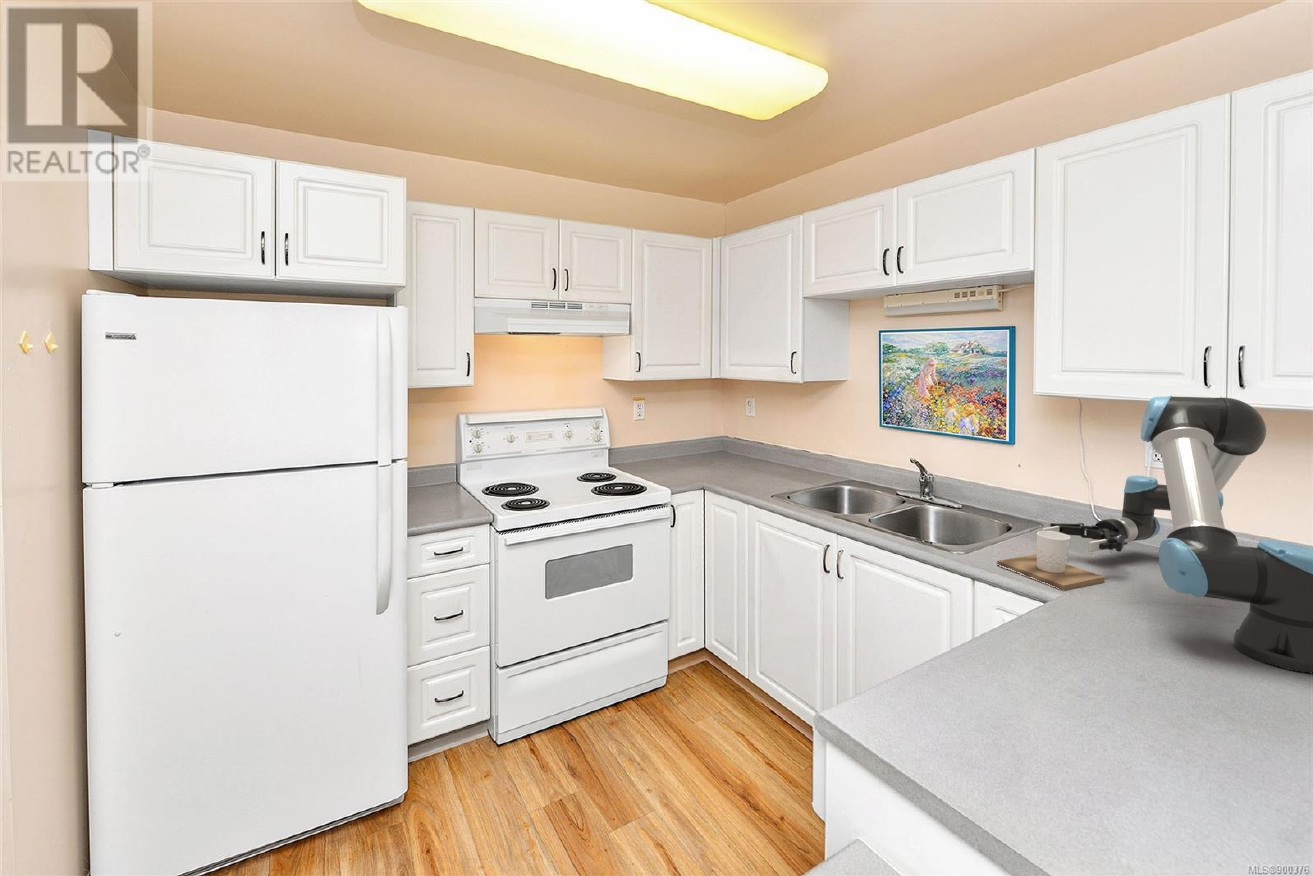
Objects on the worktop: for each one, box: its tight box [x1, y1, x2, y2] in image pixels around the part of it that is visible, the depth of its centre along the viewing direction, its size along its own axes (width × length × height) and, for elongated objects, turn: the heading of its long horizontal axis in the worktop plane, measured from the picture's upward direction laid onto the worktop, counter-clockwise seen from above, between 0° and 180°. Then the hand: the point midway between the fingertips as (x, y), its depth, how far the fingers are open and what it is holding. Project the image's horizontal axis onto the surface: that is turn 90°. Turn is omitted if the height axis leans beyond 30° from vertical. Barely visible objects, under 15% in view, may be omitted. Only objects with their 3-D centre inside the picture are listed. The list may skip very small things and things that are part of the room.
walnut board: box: [996, 553, 1106, 591], centre depth 171 cm, size 20×16×2 cm
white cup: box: [1036, 530, 1071, 573], centre depth 170 cm, size 8×8×10 cm
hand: (1065, 539), depth 172 cm, fingers open, 13 cm apart
